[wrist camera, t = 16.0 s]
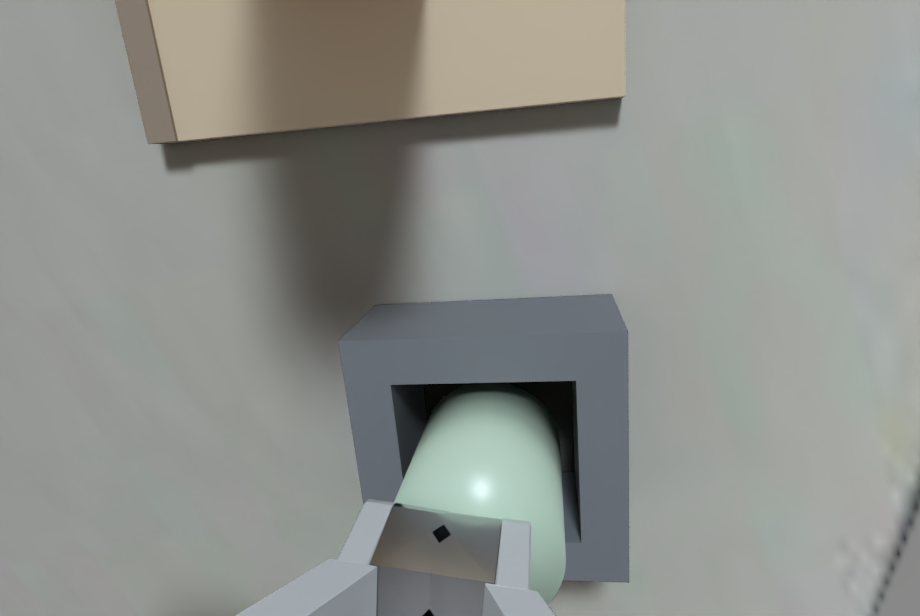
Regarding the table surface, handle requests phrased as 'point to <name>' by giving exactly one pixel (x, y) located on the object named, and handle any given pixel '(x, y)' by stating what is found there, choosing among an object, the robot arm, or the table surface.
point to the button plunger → (495, 469)
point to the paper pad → (361, 60)
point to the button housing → (493, 361)
